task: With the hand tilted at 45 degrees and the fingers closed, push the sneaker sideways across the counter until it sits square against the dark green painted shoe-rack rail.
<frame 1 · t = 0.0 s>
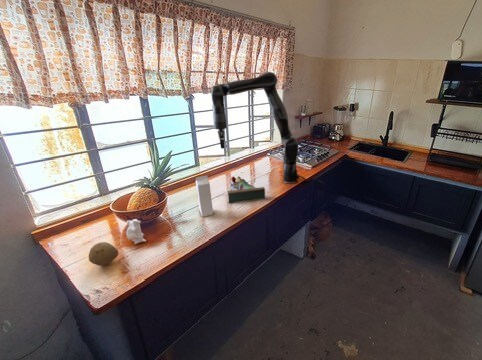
hand: (222, 146, 154), 29 cm above the counter, tool pointing down, fingers open, 8 cm apart
milk: (206, 213, 136), on the counter
sneaker: (244, 192, 161), on the counter
koala figurine: (138, 241, 113), on the counter
shoe rail: (247, 199, 151), on the counter
brown rounded lump: (106, 264, 99), on the counter
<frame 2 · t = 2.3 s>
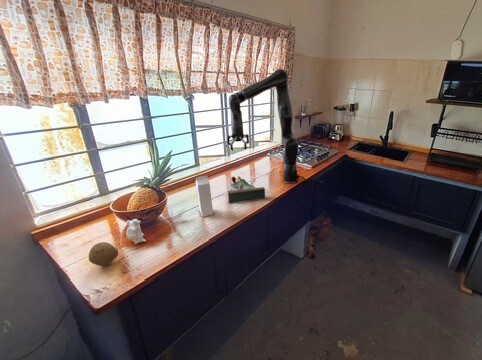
hand: (238, 150, 166), 24 cm above the counter, tool pointing down, fingers open, 8 cm apart
nothing on the counter moved.
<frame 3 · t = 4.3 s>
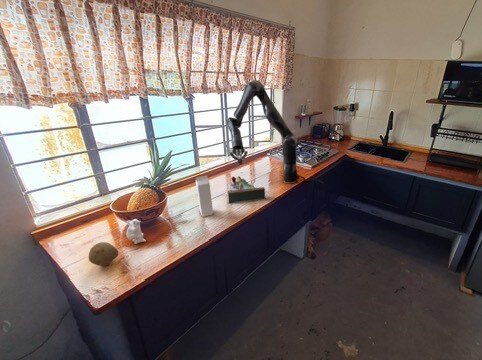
hand: (240, 164, 166), 15 cm above the counter, tool tilted 45°, fingers closed
nothing on the counter moved.
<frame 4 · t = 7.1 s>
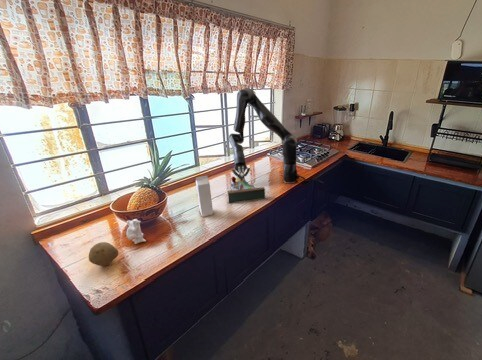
hand: (242, 181, 164), 5 cm above the counter, tool tilted 45°, fingers closed
sneaker: (244, 192, 161), on the counter, touching gripper
everything else where it was.
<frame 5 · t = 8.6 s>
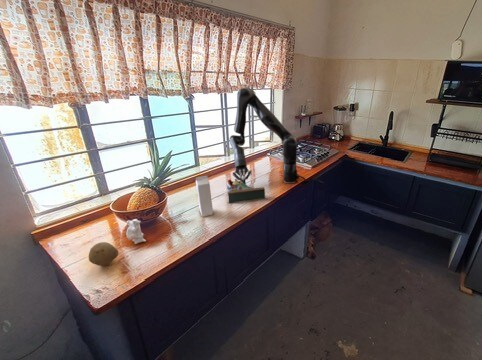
hand: (243, 185, 159), 5 cm above the counter, tool tilted 45°, fingers closed
sneaker: (242, 194, 158), on the counter, touching gripper, shoe rail
everything else where it was.
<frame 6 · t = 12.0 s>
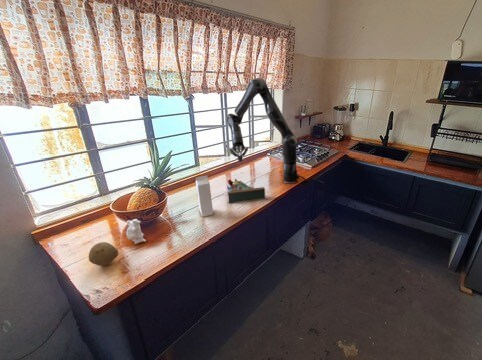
hand: (240, 161, 163), 18 cm above the counter, tool tilted 45°, fingers closed
sneaker: (242, 194, 158), on the counter
everything else where it was.
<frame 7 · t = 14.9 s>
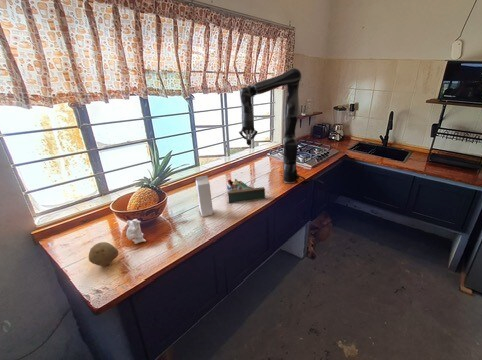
hand: (248, 144, 167), 27 cm above the counter, tool pointing down, fingers closed
nothing on the counter moved.
at the end: sneaker inside the target area (1.9 cm from its centre), on the counter; sneaker tilted 0°; sneaker moved 3.5 cm from its start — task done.
